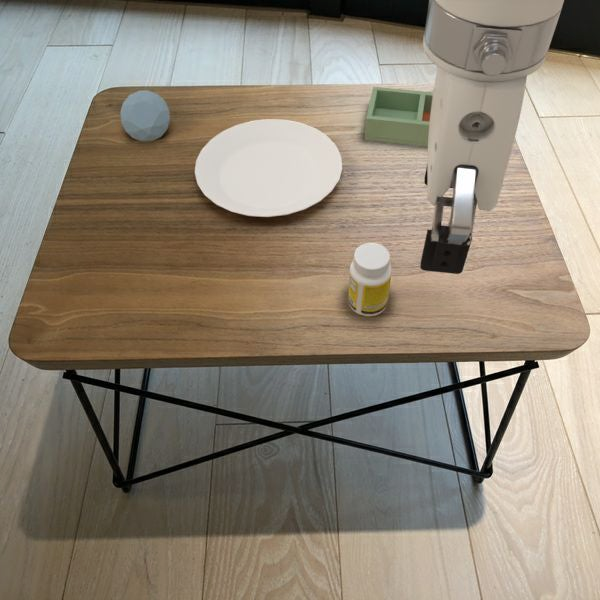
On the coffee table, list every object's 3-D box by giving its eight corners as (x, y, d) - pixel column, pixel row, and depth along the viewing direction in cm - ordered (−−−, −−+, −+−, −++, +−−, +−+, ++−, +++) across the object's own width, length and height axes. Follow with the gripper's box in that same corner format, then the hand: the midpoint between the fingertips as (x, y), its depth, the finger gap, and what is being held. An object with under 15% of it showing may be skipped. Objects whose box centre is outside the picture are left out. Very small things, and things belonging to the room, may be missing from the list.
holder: (371, 108, 98) (373, 86, 95) (469, 118, 96) (474, 96, 92) (364, 140, 93) (365, 118, 90) (467, 151, 91) (472, 129, 88)
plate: (352, 139, 93) (353, 127, 91) (326, 238, 81) (326, 226, 79) (222, 123, 96) (220, 111, 95) (177, 216, 84) (174, 204, 82)
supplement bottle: (394, 297, 75) (401, 251, 68) (374, 323, 72) (380, 278, 66) (360, 280, 76) (364, 233, 70) (340, 306, 74) (342, 260, 67)
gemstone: (130, 91, 97) (120, 85, 92) (178, 98, 97) (171, 93, 92) (125, 140, 98) (115, 137, 93) (172, 147, 98) (165, 144, 93)
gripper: (568, 117, 31) (491, 314, 45) (541, -37, 42) (484, 160, 55) (421, 105, 32) (388, 302, 46) (429, -43, 43) (401, 153, 56)
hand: (441, 224), depth 51 cm, fingers open, 9 cm apart
